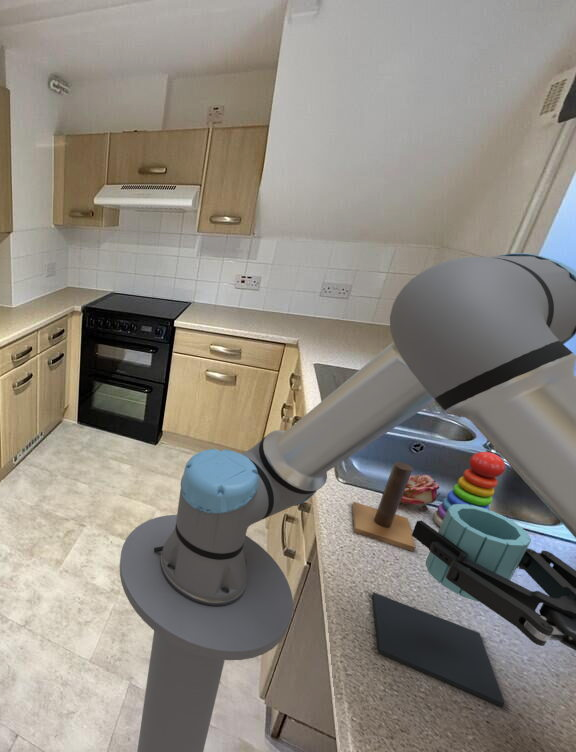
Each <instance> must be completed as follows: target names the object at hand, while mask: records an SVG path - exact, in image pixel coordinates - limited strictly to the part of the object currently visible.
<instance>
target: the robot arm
mask: <svg viewBox="0 0 576 752" xmlns="http://www.w3.org/2000/svg"><path fill="white" fill-rule="evenodd" d="M389 330H390V331H389V332H390V335H391V338H392V342H391V343H390V344H388V345H387V346H386V347H385V348H384V349H383V350H381V351H380V352H379V353H378V354H377V355H376V356H374V357H373V358H372V359H371V360H370V361H368V362H367V363H366V364H365V365H363V367H361V368H359V370H357V372H355V373H354V374H353V375H352V376H350V377H349V378H348V379H347V380H346V381H345V382H343V383H342V384H341V385H339V387H337V388H336V389H335V390H333V391H332V392H331V393H329V395H328V396H326V397H325V398H324V399H323V400H321V401H320V402H319V403H318V404H317V405H316V406H314V407H313V408H312V409H311V410H309V412H307V413H306V414H305V415H304V416H303V417H301V418H300V419H298V421H296V422H295V423H294V424H293V425H292V426H290V427H289V428H288V429H287V430H282V429H277V430H273V431H271V432H269V433H268V434H266V435H265V436H264V437H263V438H262V439H260V440H259V442H257V443H256V444H254V446H252V447H251V448H250V449H248V450H246V451H244V452H241V453H239V452H236V451H235V450H231V449H222V450H219V449H218V448H209V449H204V450H202V451H199V452H197V453H195V454H193V455H192V456H191V457H190V458H189V459H188V461H187V462H186V464H185V465H184V470H183V474H182V476H181V480H180V488H179V489H180V490H179V497H178V505H177V511H176V512H177V513H176V515H177V520H176V527H175V529H174V530H173V532H172V533H171V535H170V537H169V538H168V540H167V541H166V543H165V545H164V546H161V547H156V548H154V551H155V552H160V551H162V553H161V561H160V565H161V570H162V573H163V575H164V577H165V579H166V580H167V582H168V583H169V584H170V585H171V587H172V588H173V589H174V590H176V591H177V592H178V593H179V594H181V595H182V596H184V597H185V598H187V599H189V600H191V601H193V602H196V603H198V604H202V605H206V606H213V607H221V606H227V605H230V604H233V603H235V602H236V601H238V600H239V599H240V598H241V597H242V596H243V594H244V592H245V589H246V584H247V568H246V563H247V561H246V560H245V558H244V553H243V545H244V540H245V536H247V531H248V529H249V527H250V526H251V525H254V524H256V523H258V522H260V521H263V520H265V519H266V518H269V517H272V516H273V515H276V514H278V513H280V512H283V511H285V510H287V509H289V508H292V507H295V506H299V505H302V504H304V503H305V502H307V501H308V500H309V499H310V498H311V497H313V496H314V494H316V493H317V492H318V490H320V489H322V488H323V487H324V486H325V484H326V482H327V480H328V472H329V471H331V470H333V469H334V468H335V467H337V466H338V465H340V464H341V463H344V461H346V460H348V459H349V458H350V457H352V456H354V455H356V454H357V453H358V452H360V451H361V450H362V449H364V448H366V447H368V446H369V445H370V444H372V443H374V442H375V441H377V440H378V439H380V438H381V437H383V436H385V435H386V434H387V433H389V432H390V431H392V430H393V429H395V428H396V427H398V426H400V425H401V424H403V423H405V422H406V421H407V420H409V419H411V418H412V417H414V416H415V415H416V414H418V413H420V412H421V411H422V410H424V409H426V408H427V407H429V406H430V405H432V404H434V403H435V402H436V403H437V404H438V405H439V406H440V407H441V408H442V410H443V411H444V412H445V413H446V414H448V415H453V416H457V417H461V418H465V419H467V420H469V421H470V422H471V423H472V424H473V425H474V426H475V428H476V429H477V430H478V431H479V432H480V433H481V434H482V435H483V437H484V438H485V439H486V441H488V442H489V443H490V445H492V447H493V448H494V449H495V450H496V451H497V453H498V454H500V456H501V457H502V459H504V461H506V462H507V463H508V464H509V466H510V467H511V468H512V469H513V470H514V471H515V472H516V474H517V475H518V476H519V477H520V478H521V479H522V480H523V481H524V482H525V483H526V485H527V486H528V487H529V488H530V489H531V490H532V491H533V492H534V493H535V495H536V496H537V497H538V498H539V499H540V500H541V501H542V502H543V504H545V506H546V507H547V508H548V509H549V510H550V511H551V513H552V514H553V515H554V516H555V517H556V518H557V519H558V520H559V521H560V523H561V524H562V525H563V526H564V527H565V528H566V530H568V532H569V533H570V534H571V535H572V536H573V537H574V538H575V539H576V375H575V373H574V372H575V371H574V369H575V366H576V354H575V353H574V352H573V351H572V350H571V349H570V348H568V347H567V346H566V345H565V344H566V343H568V342H569V341H570V340H572V338H574V337H575V336H576V270H575V269H574V268H572V267H570V266H569V265H567V264H565V262H564V263H563V262H562V261H559V260H556V259H554V258H549V257H546V256H543V255H536V254H534V253H521V252H513V253H506V254H501V255H495V256H494V255H493V256H468V257H467V256H466V257H459V258H453V259H450V260H446V261H442V262H441V263H440V262H439V263H438V264H435V265H432V266H431V267H428V268H426V269H425V270H423V271H422V272H420V273H419V274H418V275H415V277H412V278H411V279H410V280H409V281H408V282H407V283H406V284H405V285H404V286H403V287H402V288H401V290H400V291H399V292H398V294H397V296H396V297H395V300H394V301H393V303H392V306H391V311H390V315H389ZM412 536H413V539H415V540H416V541H418V542H420V543H421V544H422V545H423V546H424V547H426V548H427V549H428V550H429V552H430V551H431V553H433V554H434V555H436V556H437V557H438V558H439V559H440V560H442V561H443V562H444V563H445V564H447V565H448V566H449V567H450V568H449V570H448V572H447V575H446V578H447V579H448V580H449V581H450V582H452V583H453V584H455V585H456V586H458V587H459V588H460V589H462V590H463V591H465V592H466V593H468V594H469V595H471V596H472V597H474V598H475V599H476V600H478V602H479V603H480V604H482V605H484V606H485V607H487V608H488V609H489V610H491V611H492V612H494V613H495V614H497V616H499V617H501V618H503V619H504V620H505V621H506V622H508V623H510V624H511V625H512V626H514V627H515V628H517V629H518V630H519V631H520V632H521V633H522V634H523V635H524V636H525V637H526V638H528V640H530V641H531V642H532V643H533V644H535V645H537V646H540V647H545V645H546V644H547V642H548V641H558V642H560V643H561V644H563V645H564V646H566V647H568V648H570V649H572V650H574V651H576V569H574V568H573V567H572V566H570V565H569V564H567V563H566V562H565V561H563V560H562V559H560V558H559V557H558V556H556V555H555V554H553V552H550V551H548V550H541V552H538V551H535V550H534V549H532V548H529V547H528V548H527V549H526V551H525V553H524V555H523V557H522V559H521V561H520V563H519V565H518V567H517V568H516V569H518V570H523V571H524V572H525V573H527V574H528V575H529V577H530V578H531V579H532V580H533V581H534V582H535V583H536V584H537V585H538V586H539V587H540V588H541V589H542V590H543V591H544V592H542V591H539V590H534V591H532V590H531V589H528V588H526V587H525V586H523V585H520V584H518V583H516V582H514V581H512V580H508V579H506V578H504V577H502V576H501V575H499V574H497V573H495V572H493V571H491V570H489V569H487V568H485V567H483V566H481V565H479V564H477V563H475V562H473V561H471V560H469V559H467V558H466V557H467V555H468V553H466V552H464V551H463V550H462V549H460V548H459V547H458V546H456V545H455V544H453V543H452V542H451V541H449V540H448V539H447V538H445V537H444V536H442V535H441V534H440V533H438V531H437V530H436V529H434V528H433V527H431V526H430V525H429V524H428V523H426V522H425V521H423V520H422V519H421V520H417V521H416V522H415V525H414V527H413V531H412ZM551 564H552V565H551ZM468 568H469V569H470V570H469V569H468ZM539 604H542V605H541V606H540V607H539V610H538V612H539V613H538V612H537V611H536V610H537V608H538V606H539Z"/></svg>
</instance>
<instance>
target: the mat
mask: <svg viewBox="0 0 576 752" xmlns="http://www.w3.org/2000/svg"><path fill="white" fill-rule="evenodd" d="M371 596H372V606H373V607H372V608H373V615H374V624H375V625H374V626H375V633H376V642H377V651H378V654H380V655H382V656H384V657H387V658H390V659H392V660H394V661H396V662H399V663H401V664H402V665H406V666H407V667H411V668H412V669H415V670H417V671H419V672H421V673H424V674H426V675H429V676H431V677H433V678H435V679H437V680H440V681H442V682H444V683H447V684H449V685H451V686H453V687H456V688H458V689H460V690H463V691H465V692H466V693H470V694H472V695H474V696H476V697H479V698H481V699H483V700H486V701H487V702H489V703H492V704H495V705H497V706H499V707H502V708H503V707H504V706H505V704H506V703H505V701H504V700H505V699H504V698H503V694H502V692H501V689H500V686H499V684H498V680H497V678H496V675H495V673H494V670H493V667H492V664H491V661H490V659H489V656H488V653H487V650H486V647H485V644H484V641H483V638H482V636H481V633H480V632H478V631H476V630H473V629H470V628H468V627H465V626H463V625H460V624H457V623H455V622H452V621H449V620H446V619H443V618H441V617H439V616H436V615H434V614H431V613H428V612H426V611H423V610H421V609H418V608H416V607H412V606H410V605H407V604H405V603H402V602H400V601H397V600H394V599H391V598H390V597H386V596H384V595H381V594H379V593H376V592H373V593H372V595H371Z"/></svg>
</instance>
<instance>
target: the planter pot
mask: <svg viewBox="0 0 576 752" xmlns="http://www.w3.org/2000/svg"><path fill="white" fill-rule="evenodd" d="M437 532H438V533H440V534H441V535H442V536H444V537H445V538H447V539H448V540H449V541H451V542H452V543H453V544H455V545H456V546H458V547H459V548H460V549H462V550H463V551H464V552H466V553H468V555H467V557H466V558H467V559H469V560H471V561H473V562H475V563H477V564H479V565H481V566H483V567H485V568H487V569H489V570H491V571H493V572H495V573H497V574H499V575H501V576H502V577H504V578H506V579H508V580H510V581H512V578H513V576H514V574H515V572H516V570H517V569H518V568H519V567H518V565H519V563H520V561H521V559H522V557H523V555H524V553H525V551H526V549H527V548H529V546H530V544H531V542H532V537H530V535H529V533H528V532H527V530H525V528H523V527H522V526H521V525H519V524H518V523H516V522H515V521H513V520H512V519H510V518H508V517H506V516H504V515H502V514H500V513H498V512H495V511H493V510H490V509H489V510H488V509H485V508H481V507H478V506H474V505H469V504H454V505H452V506H451V507H449V508H448V510H447V512H446V515H445V517H444V519H443V522H442V524H441V526H439V529H438V531H437ZM425 566H426V570H427V572H428V574H430V575H431V577H433V578H434V579H435V581H437V582H438V583H439V584H441V586H443V587H445V588H446V589H448V590H450V591H451V592H453V593H454V594H456V595H459V596H460V597H462V598H466V599H469V600H471V601H474V602H477V603H478V602H479V601H478V600H476V599H475V598H474V597H472V596H471V595H469V594H468V593H466V592H465V591H463V590H462V589H460V588H459V587H458V586H456V585H455V584H453V583H452V582H450V581H449V580H448V579H447V578H446V575H447V572H448V570H449V568H450V567H449V566H448V565H447V564H445V563H444V562H443V561H442V560H440V559H439V558H438V557H437V556H436V555H434V554H433V553H431V551H430V550H429V553H428V555H427V557H426V560H425ZM517 567H518V568H517ZM468 569H469V568H468ZM469 570H470V569H469Z"/></svg>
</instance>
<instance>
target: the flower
mask: <svg viewBox="0 0 576 752" xmlns="http://www.w3.org/2000/svg"><path fill="white" fill-rule="evenodd" d="M439 489H440V486H439V484H438V483H437V481H436V480H434V479H433V478H432V476H431V475H428V474H423V475H421V474H420V473H419V474H417V475H415V474H414V475H410V477H409V480H408V483H407V485H406V488H405V491H404V493H403V496H402V498H401V501H400V504H402V505H403V504H405V505H416V506H419V507H420V508H421V509H422V511H428V510H429V509H428V507H427V504H434V503H435V502H436V500H437V499H438V498H439V496H440V495H441V492H439V493H438V490H439Z"/></svg>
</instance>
